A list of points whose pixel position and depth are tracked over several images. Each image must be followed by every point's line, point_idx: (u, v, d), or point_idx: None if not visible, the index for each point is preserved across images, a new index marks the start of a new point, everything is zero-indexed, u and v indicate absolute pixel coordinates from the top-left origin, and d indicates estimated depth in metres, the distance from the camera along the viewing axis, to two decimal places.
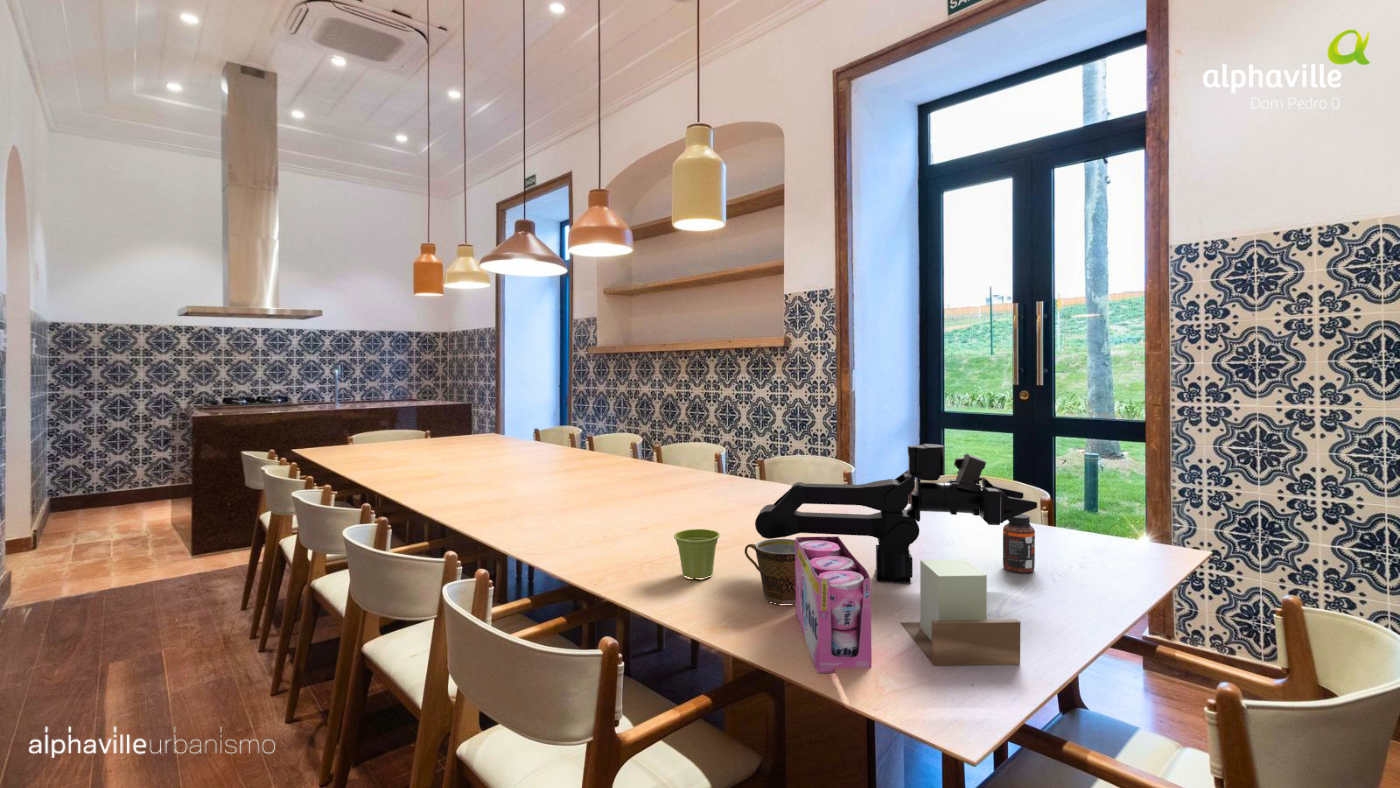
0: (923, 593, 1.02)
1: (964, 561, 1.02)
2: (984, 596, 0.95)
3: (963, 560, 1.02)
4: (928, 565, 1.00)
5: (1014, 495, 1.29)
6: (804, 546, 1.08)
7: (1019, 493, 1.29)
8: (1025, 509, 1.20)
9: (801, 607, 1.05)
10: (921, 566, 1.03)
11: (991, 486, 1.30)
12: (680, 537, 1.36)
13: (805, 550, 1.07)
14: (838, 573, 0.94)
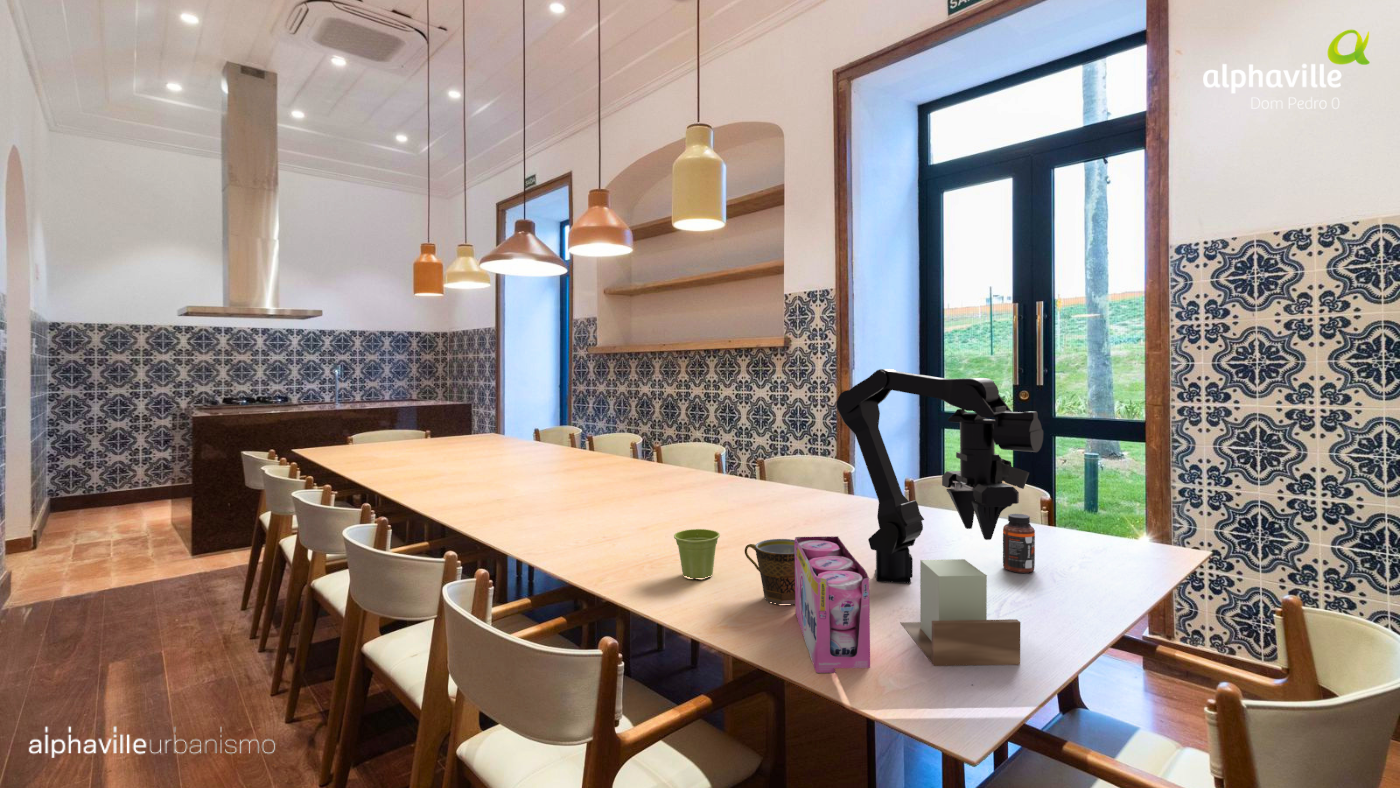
0: (923, 593, 1.02)
1: (964, 561, 1.02)
2: (984, 596, 0.95)
3: (963, 560, 1.02)
4: (928, 565, 1.00)
5: (968, 520, 1.21)
6: (803, 546, 1.08)
7: (971, 524, 1.21)
8: (985, 528, 1.12)
9: (800, 607, 1.05)
10: (921, 566, 1.03)
11: None
12: (680, 537, 1.36)
13: (804, 550, 1.07)
14: (837, 573, 0.94)
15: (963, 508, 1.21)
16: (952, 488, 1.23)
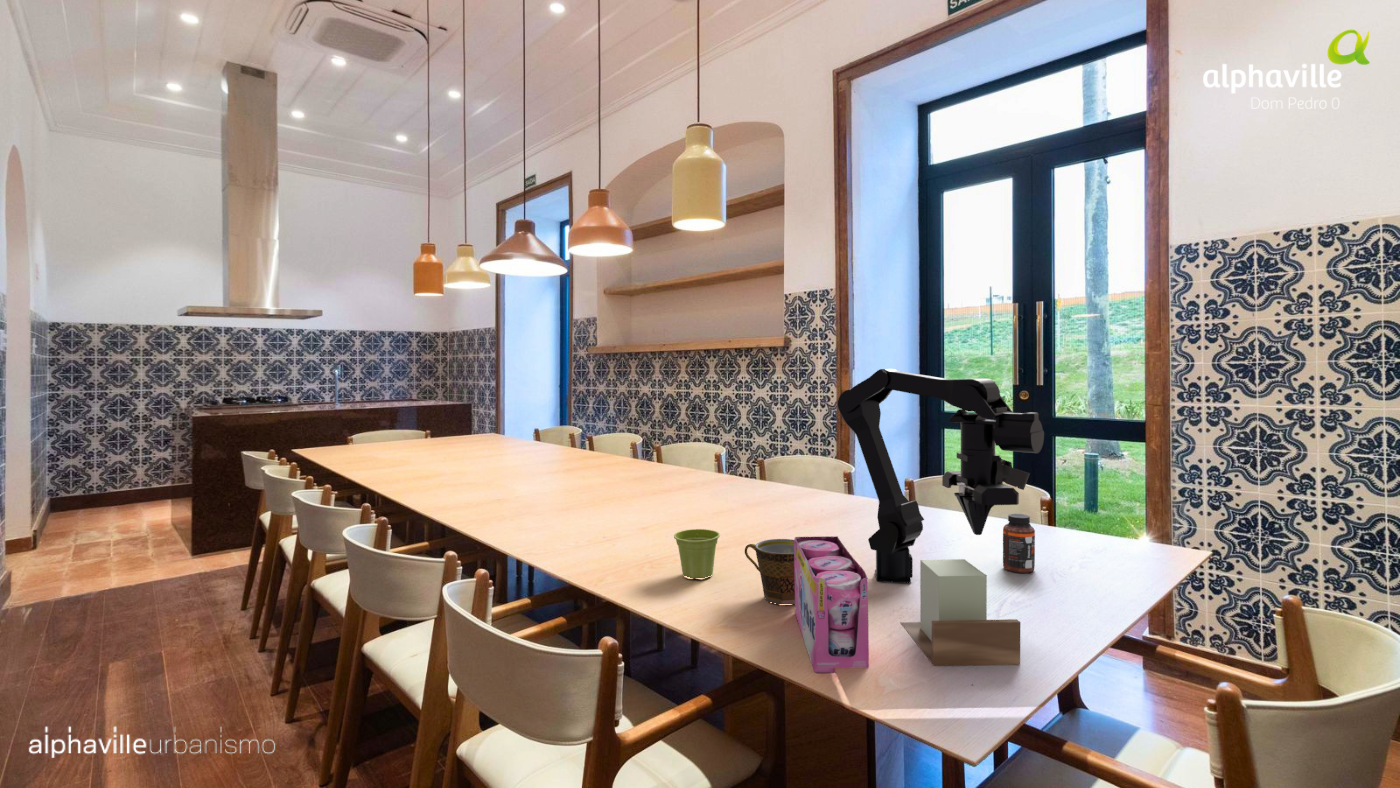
0: (923, 593, 1.02)
1: (964, 561, 1.02)
2: (984, 596, 0.95)
3: (963, 560, 1.02)
4: (928, 565, 1.00)
5: None
6: (803, 546, 1.08)
7: None
8: (975, 523, 1.16)
9: (800, 607, 1.05)
10: (921, 566, 1.03)
11: None
12: (680, 537, 1.36)
13: (804, 550, 1.07)
14: (836, 573, 0.94)
15: None
16: (960, 492, 1.19)
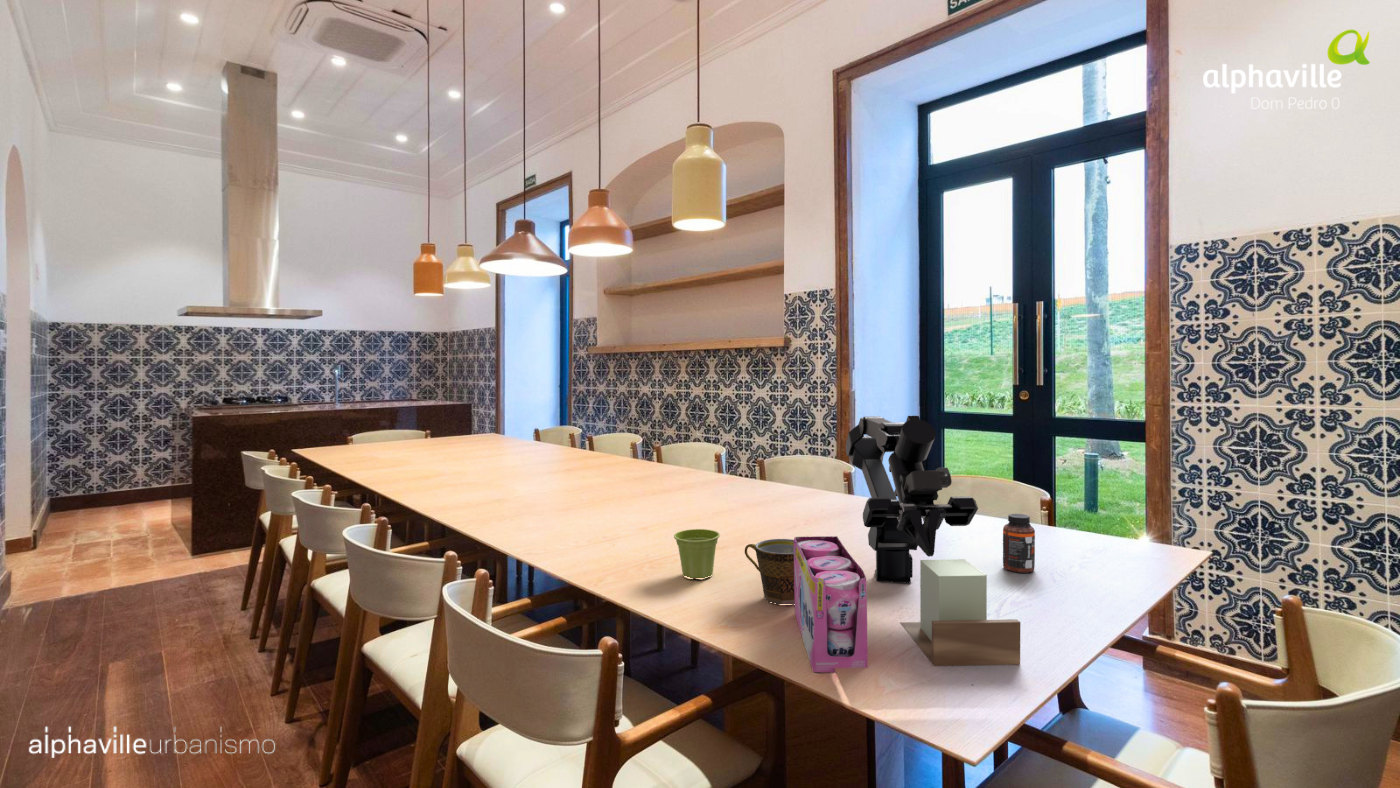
0: (923, 593, 1.02)
1: (964, 561, 1.02)
2: (984, 596, 0.95)
3: (963, 560, 1.02)
4: (928, 565, 1.00)
5: None
6: (802, 546, 1.08)
7: (930, 550, 1.08)
8: (920, 546, 1.10)
9: (799, 607, 1.05)
10: (921, 566, 1.03)
11: (928, 520, 1.11)
12: (680, 537, 1.36)
13: (803, 550, 1.07)
14: (835, 573, 0.94)
15: None
16: None
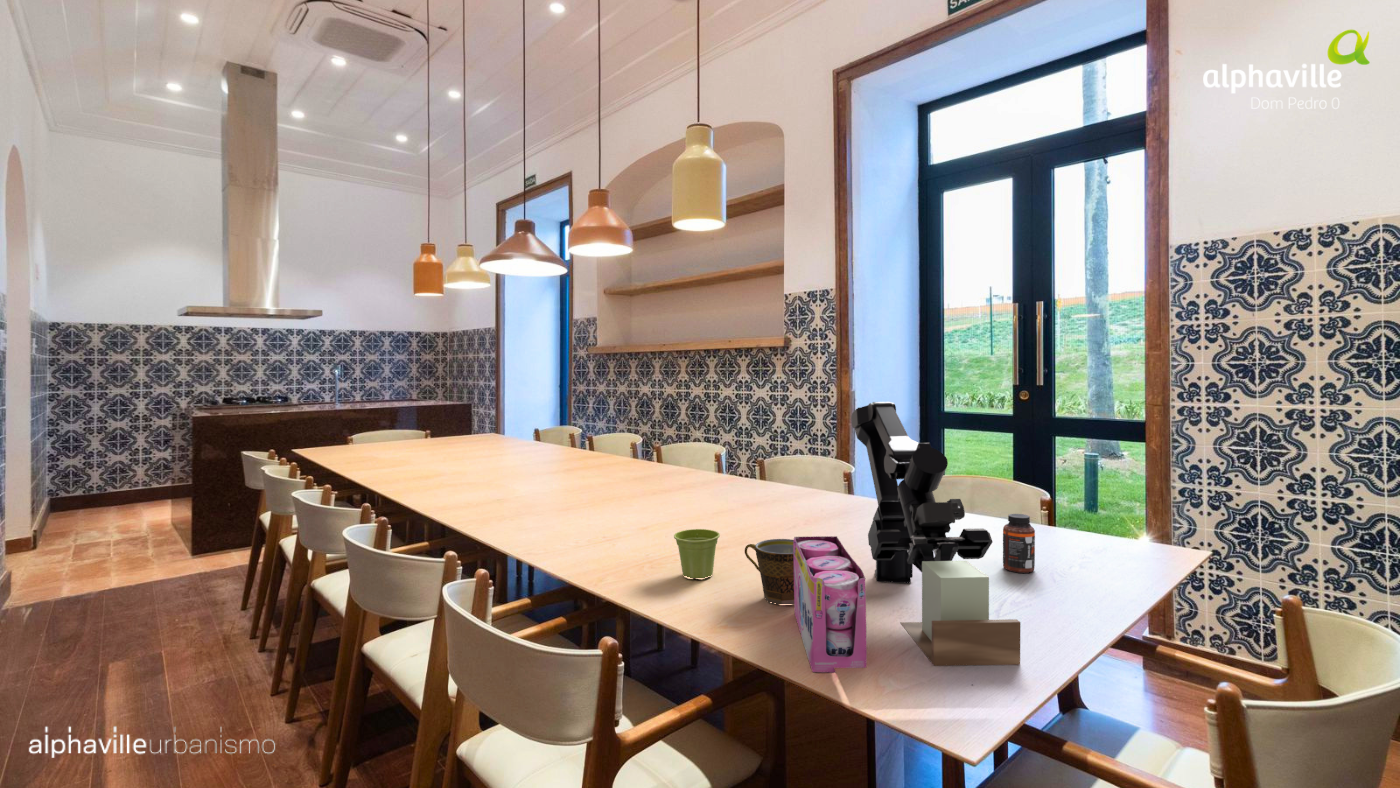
0: (925, 595, 1.01)
1: (966, 562, 1.01)
2: (987, 598, 0.94)
3: (965, 561, 1.02)
4: (929, 566, 1.00)
5: None
6: (802, 546, 1.08)
7: None
8: None
9: (798, 607, 1.05)
10: (923, 567, 1.02)
11: (940, 554, 1.06)
12: (680, 537, 1.36)
13: (803, 550, 1.07)
14: (834, 573, 0.94)
15: None
16: None
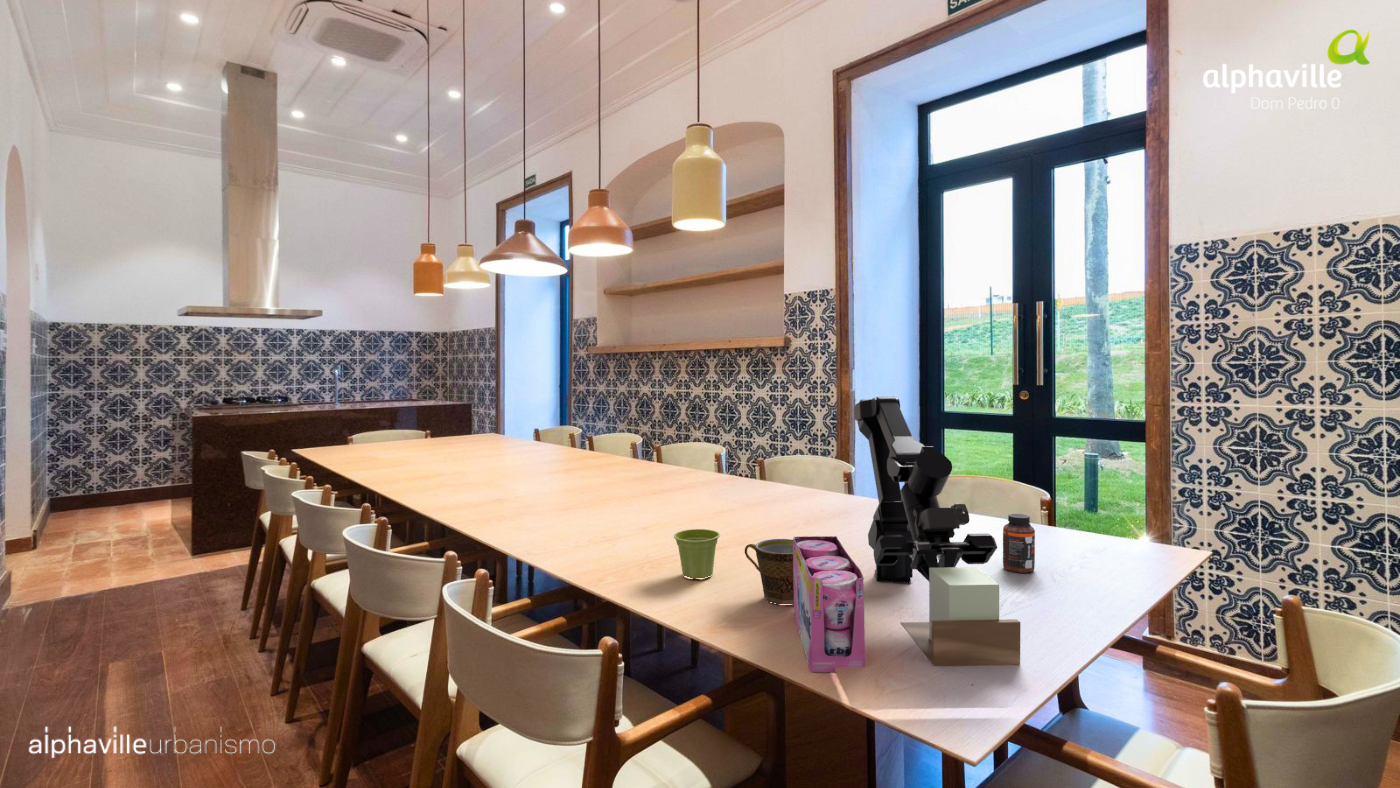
0: (932, 603, 0.98)
1: (975, 569, 0.98)
2: (997, 606, 0.91)
3: (974, 568, 0.99)
4: (937, 573, 0.96)
5: None
6: (801, 546, 1.08)
7: None
8: None
9: (797, 606, 1.05)
10: (930, 574, 0.99)
11: (944, 559, 1.04)
12: (680, 537, 1.36)
13: (802, 550, 1.07)
14: (832, 573, 0.94)
15: None
16: None
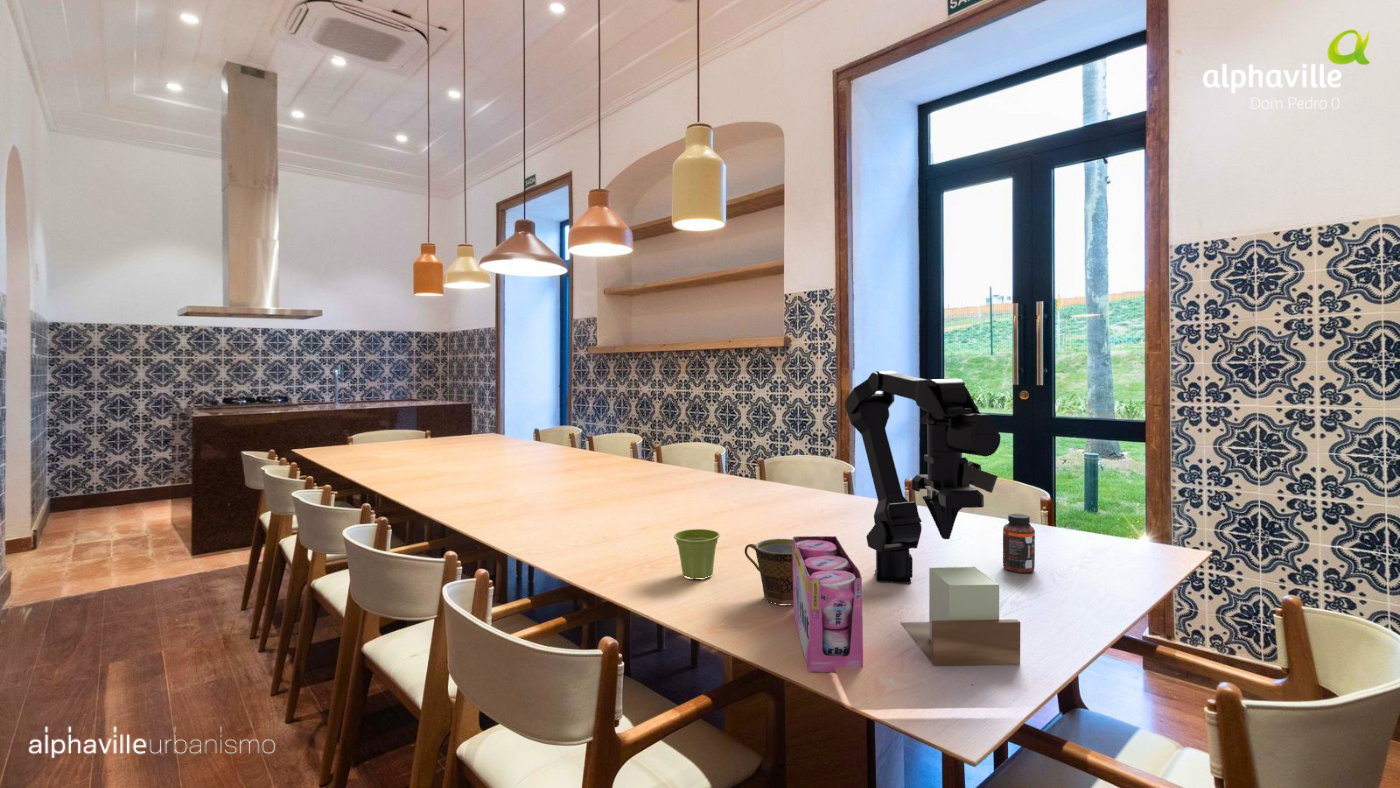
0: (932, 603, 0.98)
1: (975, 569, 0.98)
2: (997, 606, 0.91)
3: (974, 568, 0.99)
4: (937, 573, 0.96)
5: None
6: (800, 545, 1.08)
7: None
8: (943, 527, 1.13)
9: None
10: (930, 574, 0.99)
11: None
12: (680, 537, 1.36)
13: (801, 549, 1.07)
14: (831, 573, 0.94)
15: None
16: (928, 495, 1.17)
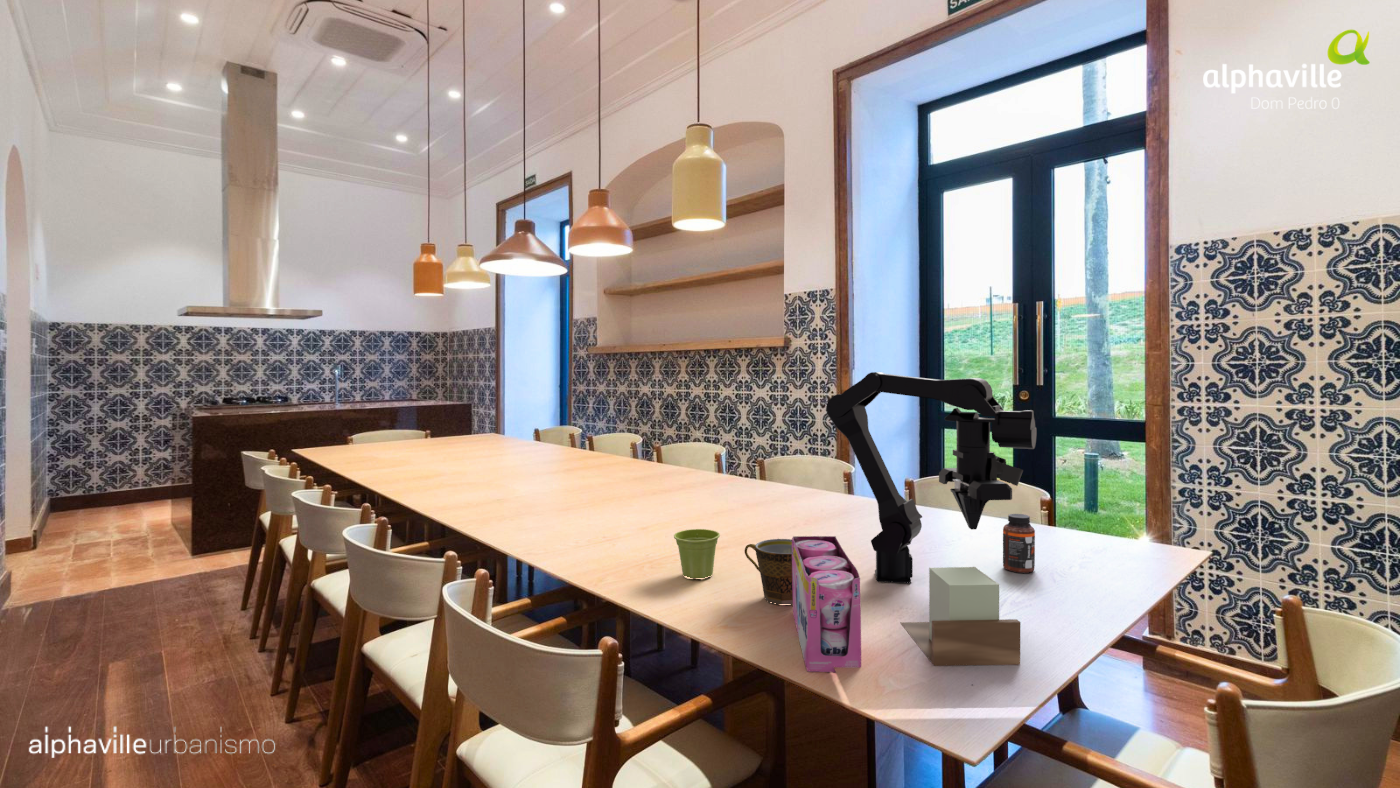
0: (932, 603, 0.98)
1: (975, 569, 0.98)
2: (997, 606, 0.91)
3: (974, 568, 0.99)
4: (937, 573, 0.96)
5: None
6: (800, 545, 1.08)
7: None
8: (971, 518, 1.20)
9: None
10: (930, 574, 0.99)
11: None
12: (680, 537, 1.36)
13: (800, 549, 1.07)
14: (829, 572, 0.95)
15: None
16: (956, 488, 1.23)
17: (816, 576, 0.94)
